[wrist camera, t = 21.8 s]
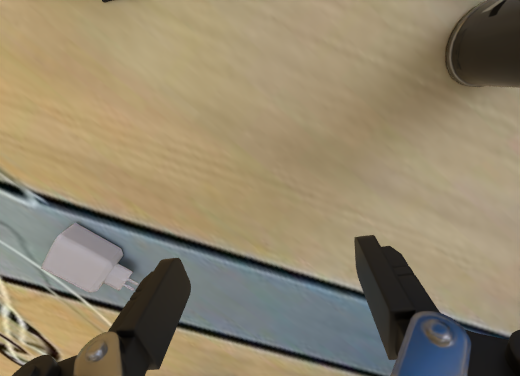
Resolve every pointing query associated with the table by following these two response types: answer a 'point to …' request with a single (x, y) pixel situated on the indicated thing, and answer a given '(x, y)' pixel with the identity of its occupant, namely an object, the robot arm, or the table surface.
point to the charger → (86, 260)
